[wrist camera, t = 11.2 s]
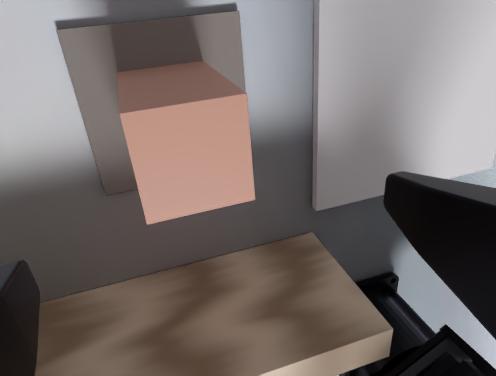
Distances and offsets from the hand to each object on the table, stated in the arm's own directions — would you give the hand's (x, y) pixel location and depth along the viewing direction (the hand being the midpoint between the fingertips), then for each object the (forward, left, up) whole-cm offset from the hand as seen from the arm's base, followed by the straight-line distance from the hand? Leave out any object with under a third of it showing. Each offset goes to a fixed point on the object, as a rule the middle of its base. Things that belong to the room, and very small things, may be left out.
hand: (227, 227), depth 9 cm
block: (0, 0, -11) cm, 11 cm away
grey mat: (-15, -2, -11) cm, 19 cm away
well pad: (0, 0, -11) cm, 11 cm away
